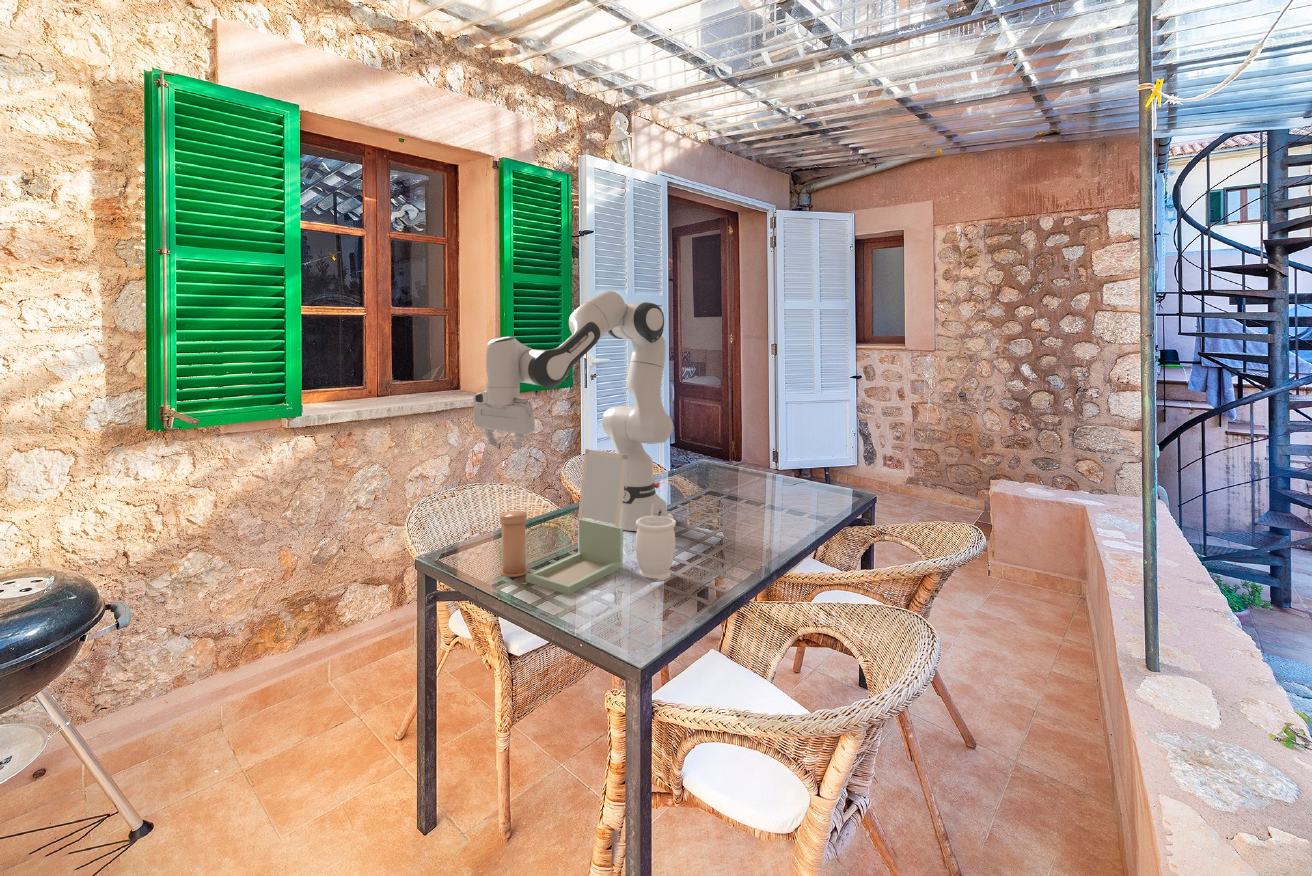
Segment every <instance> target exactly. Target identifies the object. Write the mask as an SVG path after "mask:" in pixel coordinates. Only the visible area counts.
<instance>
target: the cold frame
mask: <svg viewBox="0 0 1312 876" xmlns="http://www.w3.org/2000/svg"><path fill="white" fill-rule="evenodd" d="M623 545H624V530H623V528H622V527H616V526H614V525H613V524H610V523H605V522H601V521H599V522H598V521H596V520H592V519H590V520H589V519H587V518H583V519H580V518H578V552H577V553H575V554H571V555H570V556H567V557H565V558H564V559H561V560H559V561H557V562H555V563H552V564H550V565H548V566H545V567H543V568H541V569H539V570H536V571H534V572H528V573H527V574H525V583H528V584H532V585H535V586H539V587H541V588H544V589H549V590H551V591H555V592H557V593H561V594H565V595H567V596H570V595H572V594H574V593H576V592H578V591H580V590H581V589H583V588H585V587H587V586H589V585H591V584H593V583H596V582H597V581H599V580H601V579H603V578H604V577H607V576H609V575H610V574H613V573H615V572H617V571H618V570H621V569H622V568H623V566H624V565H623V564H624V562H623V559H624V554H623V553H624V550H623V549H624V547H623Z"/></svg>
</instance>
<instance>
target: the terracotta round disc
mask: <svg viewBox="0 0 1312 876" xmlns="http://www.w3.org/2000/svg"><path fill="white" fill-rule="evenodd" d="M527 573H530V567H528V566H527V565H526V571H525V572H523V573H520V574H506V573H504V572H503V567H501V568H500V569H499V574H500V575H501V576H503V577H509V578H511V577H513V578H514V577H521V576H524V575H526V574H527Z"/></svg>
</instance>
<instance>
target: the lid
mask: <svg viewBox="0 0 1312 876" xmlns="http://www.w3.org/2000/svg"><path fill="white" fill-rule="evenodd" d="M627 457H628V455H624V454H617V453H616V452H609V451H604V450H603V451H602V450H596V449H590V448H585V450H584V461H583V468H582V478H581V485H580V496H579V505H578V515H577V519H588V520H589V519H590V520H593V521H597V522H598V521H599V522H602V523H606V524H611V525H613V524H615V526H616V527H620V520H621V511H622V502H623V493H624V484H625V475H626V466H627Z"/></svg>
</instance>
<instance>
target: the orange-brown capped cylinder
mask: <svg viewBox="0 0 1312 876" xmlns="http://www.w3.org/2000/svg"><path fill="white" fill-rule="evenodd" d="M527 517H528V515H527V512H526V511H525V512H524V511H521V510H510V511H505V512H502V513H500V514H499V522H500V524H501V553H502V554H501V555H502V557H501V559H502V568H503V572H504V573H506V574H520V573H523V572H525V571H526V566H527V547H526V546H527V541H526V539H527V538H526V535H527V534H526V523H527V521H528V518H527Z"/></svg>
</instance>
